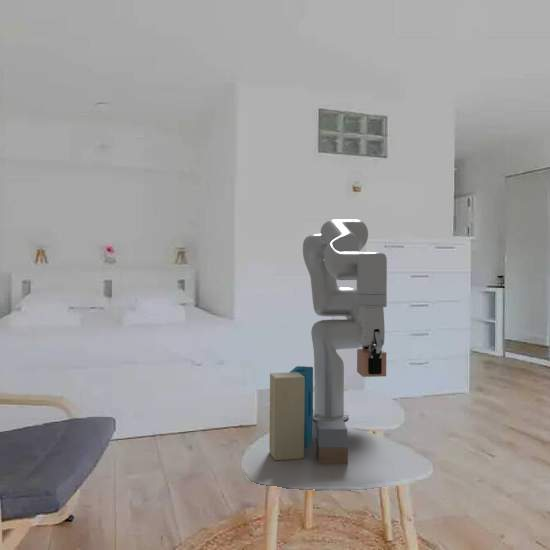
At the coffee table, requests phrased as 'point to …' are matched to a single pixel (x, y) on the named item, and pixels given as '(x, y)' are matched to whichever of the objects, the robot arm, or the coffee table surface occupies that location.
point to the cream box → (287, 415)
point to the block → (307, 401)
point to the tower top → (331, 434)
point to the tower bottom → (332, 455)
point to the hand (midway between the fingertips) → (371, 370)
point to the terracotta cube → (363, 363)
